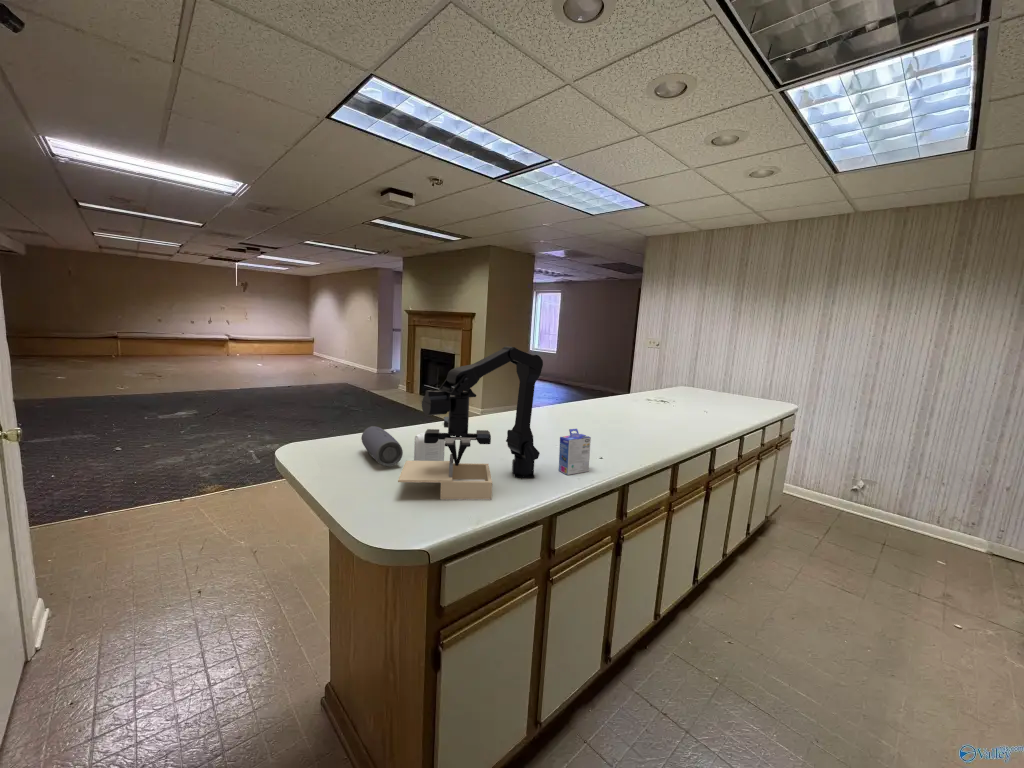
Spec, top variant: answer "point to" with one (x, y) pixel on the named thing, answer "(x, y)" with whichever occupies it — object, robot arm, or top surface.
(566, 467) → the ink cartridge box
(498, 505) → the top surface
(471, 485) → the mailer box
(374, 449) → the bluetooth speaker
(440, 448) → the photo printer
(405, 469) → the lid
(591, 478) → the top surface
